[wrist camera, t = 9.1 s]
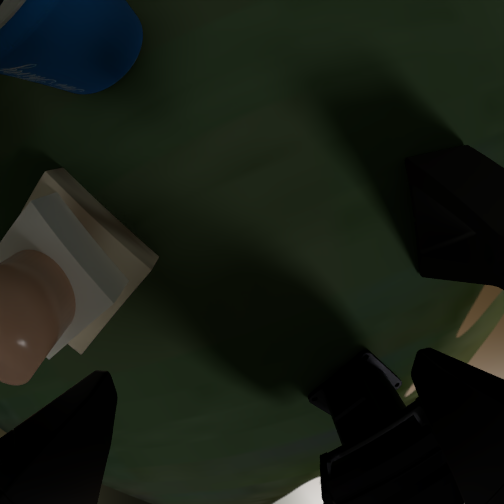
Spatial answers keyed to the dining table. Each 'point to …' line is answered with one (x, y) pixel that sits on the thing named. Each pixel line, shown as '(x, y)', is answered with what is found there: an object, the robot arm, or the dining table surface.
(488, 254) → the phone stand
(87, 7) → the beverage can
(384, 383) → the robot arm
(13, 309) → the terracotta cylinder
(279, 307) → the dining table surface
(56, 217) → the tower top
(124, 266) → the tower base
